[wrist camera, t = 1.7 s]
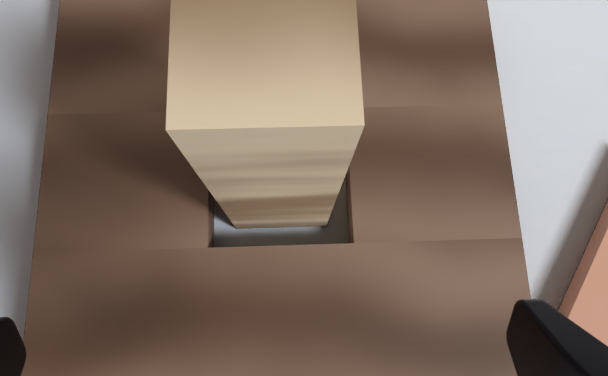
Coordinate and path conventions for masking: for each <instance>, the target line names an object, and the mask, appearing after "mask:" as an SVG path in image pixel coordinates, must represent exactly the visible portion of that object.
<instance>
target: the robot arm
mask: <svg viewBox="0 0 608 376" xmlns="http://www.w3.org/2000/svg"><path fill="white" fill-rule="evenodd" d="M506 339H507V344H508V348H509V351H510V354H511V357H512V360H513V364H514V367H515V370H516V373H517V376H608V346H607V345H605V344H604V343H603V342H601V341H600V340H598V339H597V338H596V337H594V336H593V335H591V334H590V333H588V332H587V331H586V330H584V329H583V328H581V327H580V326H579V325H577V324H576V323H574V322H573V321H571V320H570V319H569V318H567V317H566V316H564V315H563V314H562V313H560V312H559V311H557V310H556V309H554V308H553V307H552V306H550V305H549V304H547V303H546V302H544V301H543V300H540V299H521V300H518V301H517V302H516V303H515V305H514V308H513V311H512V314H511V318H510V321H509V324H508V328H507V332H506ZM25 361H26V348H25V345H24V343H23V341H22V339H21V337H20V334H19V332H18V330H17V328H16V326H15V323H14V322H13V320H12V319H10V318H8V317H0V376H21V374H22V371H23V368H24V365H25Z"/></svg>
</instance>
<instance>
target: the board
mask: <svg viewBox="0 0 608 376" xmlns="http://www.w3.org/2000/svg"><path fill="white" fill-rule="evenodd" d="M356 7H357V21H358V36H359V50H360V64H361V79H362V93H363V108H364V122H365V126H364V128H363V131H362V134H361V136H360V139H359V142H358V144H357V147H356V149H355V152H354V155H353V157H352V160H351V162H350V165H349V168H348V170H347V173H346V190H347V208H348V225H349V243H342V244H310V245H277V246H244V247H213V240H214V197H213V196H212V194H211V193H210V191H209V190H208V189H207V187H206V186H205V184H204V183H203V182H202V180H201V179H200V177H199V176H198V175H197V173H196V172H195V170H194V169H193V168H192V166H191V165H190V164H189V162H188V161H187V159H186V158H185V157H184V155H183V154H182V152H181V151H180V150H179V148H178V147H177V145H176V144H175V143H174V141H173V140H172V138H171V137H170V136H169V134H168V133H167V131H166V106H167V82H168V57H169V33H170V8H171V0H60V4H59V14H58V23H57V32H56V42H55V51H54V61H53V70H52V79H51V89H50V98H49V107H48V117H47V126H46V135H45V145H44V154H43V164H42V173H41V182H40V192H39V201H38V210H37V220H36V229H35V238H34V248H33V257H32V266H31V276H30V285H29V295H28V304H27V313H26V323H25V332H24V341H23V343H24V345H25V348H26V361H25V365H24V368H23V371H22V374H21V376H517V373H516V370H515V367H514V364H513V360H512V357H511V354H510V351H509V348H508V344H507V339H506V332H507V328H508V324H509V321H510V318H511V314H512V311H513V308H514V305H515V303H516V302H517V301H518V300H521V299H531V297H530V290H529V283H528V276H527V269H526V263H525V256H524V249H523V242H522V235H521V229H520V222H519V215H518V208H517V201H516V195H515V188H514V181H513V174H512V167H511V161H510V154H509V147H508V140H507V133H506V127H505V120H504V113H503V106H502V99H501V93H500V86H499V79H498V72H497V66H496V59H495V52H494V45H493V38H492V32H491V25H490V18H489V11H488V4H487V0H356Z"/></svg>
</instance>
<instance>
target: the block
mask: <svg viewBox="0 0 608 376" xmlns="http://www.w3.org/2000/svg"><path fill="white" fill-rule="evenodd" d="M364 126H365V122H364V108H363V93H362V79H361V64H360V50H359V36H358V21H357V7H356V0H171V8H170V33H169V57H168V82H167V106H166V131H167V133H168V134H169V136H170V137H171V138H172V140H173V141H174V143H175V144H176V145H177V147H178V148H179V150H180V151H181V152H182V154H183V155H184V157H185V158H186V159H187V161H188V162H189V164H190V165H191V166H192V168H193V169H194V170H195V172H196V173H197V175H198V176H199V177H200V179H201V180H202V182H203V183H204V184H205V186H206V187H207V189H208V190H209V191H210V193H211V194H212V196H213V197H214V198H215V200H216V201H217V203H218V204H219V205H220V207H221V208H222V209H223V211H224V212H225V214H226V215H227V216H228V218H229V219H230V221H231V222H232V223H233V225H234V226H235V228H236V229H246V228H279V227H313V226H326V225H327V223H328V220H329V217H330V215H331V212H332V210H333V207H334V204H335V202H336V199H337V196H338V194H339V191H340V189H341V186H342V183H343V181H344V178H345V176H346V173H347V170H348V168H349V165H350V162H351V160H352V157H353V155H354V152H355V149H356V147H357V144H358V142H359V139H360V136H361V134H362V131H363V128H364Z"/></svg>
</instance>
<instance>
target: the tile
mask: <svg viewBox="0 0 608 376" xmlns="http://www.w3.org/2000/svg"><path fill="white" fill-rule="evenodd" d="M558 311H559V312H560V313H562V314H563V315H564V316H566V317H567V318H569V319H570V320H571V321H573V322H574V323H576V324H577V325H579V326H580V327H581V328H583V329H584V330H586V331H587V332H588V333H590V334H591V335H593V336H594V337H596V338H597V339H598V340H600V341H601V342H603V343H604V344H605V345H607V346H608V201H607V203H606V205H605V207H604V210H603V212H602V214H601V216H600V219H599V221H598V223H597V225H596V227H595V230H594V232H593V234H592V236H591V239H590V241H589V243H588V245H587V248H586V250H585V252H584V254H583V256H582V259H581V261H580V263H579V265H578V268H577V270H576V272H575V274H574V276H573V279H572V281H571V283H570V285H569V288H568V290H567V292H566V294H565V296H564V299H563V301H562V303H561V305H560V308H559V310H558Z"/></svg>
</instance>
